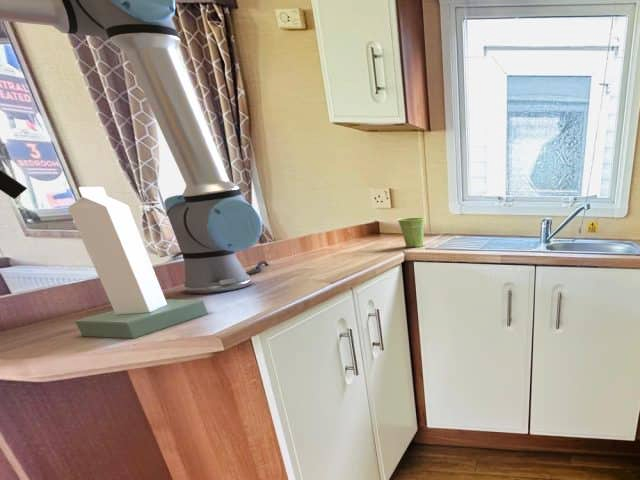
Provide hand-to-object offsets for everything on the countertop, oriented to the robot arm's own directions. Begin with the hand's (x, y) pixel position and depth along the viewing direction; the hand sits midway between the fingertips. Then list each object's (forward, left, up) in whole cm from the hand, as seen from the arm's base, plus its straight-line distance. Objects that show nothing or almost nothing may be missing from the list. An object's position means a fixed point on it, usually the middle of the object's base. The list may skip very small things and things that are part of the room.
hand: (6, 199), depth 69 cm
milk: (-7, +9, -21) cm, 24 cm away
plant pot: (-120, +17, -24) cm, 124 cm away
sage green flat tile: (-7, +9, -24) cm, 26 cm away
